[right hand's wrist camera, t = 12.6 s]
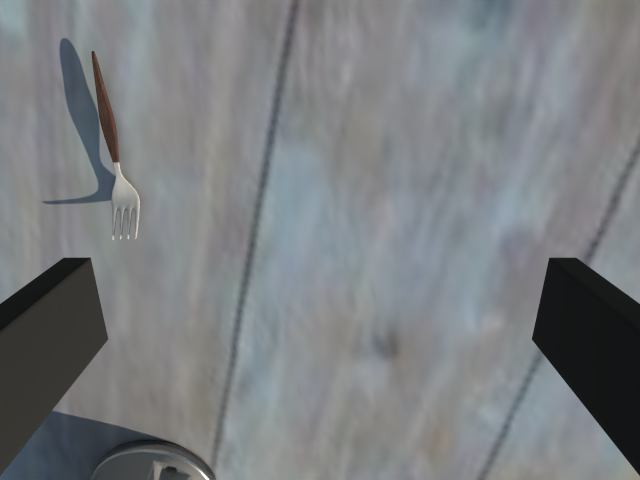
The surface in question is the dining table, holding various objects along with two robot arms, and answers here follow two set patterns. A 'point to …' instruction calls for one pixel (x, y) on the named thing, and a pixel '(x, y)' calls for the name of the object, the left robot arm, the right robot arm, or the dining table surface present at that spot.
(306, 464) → the dining table surface
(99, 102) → the fork
